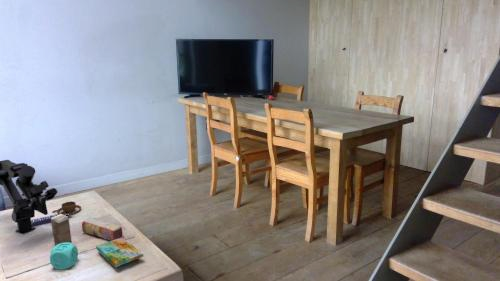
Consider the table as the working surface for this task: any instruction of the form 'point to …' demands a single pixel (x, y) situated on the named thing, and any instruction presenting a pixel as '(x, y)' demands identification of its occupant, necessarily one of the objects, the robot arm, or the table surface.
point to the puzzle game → (119, 251)
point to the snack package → (101, 229)
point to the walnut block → (61, 229)
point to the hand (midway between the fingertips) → (46, 214)
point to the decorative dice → (64, 256)
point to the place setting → (68, 208)
